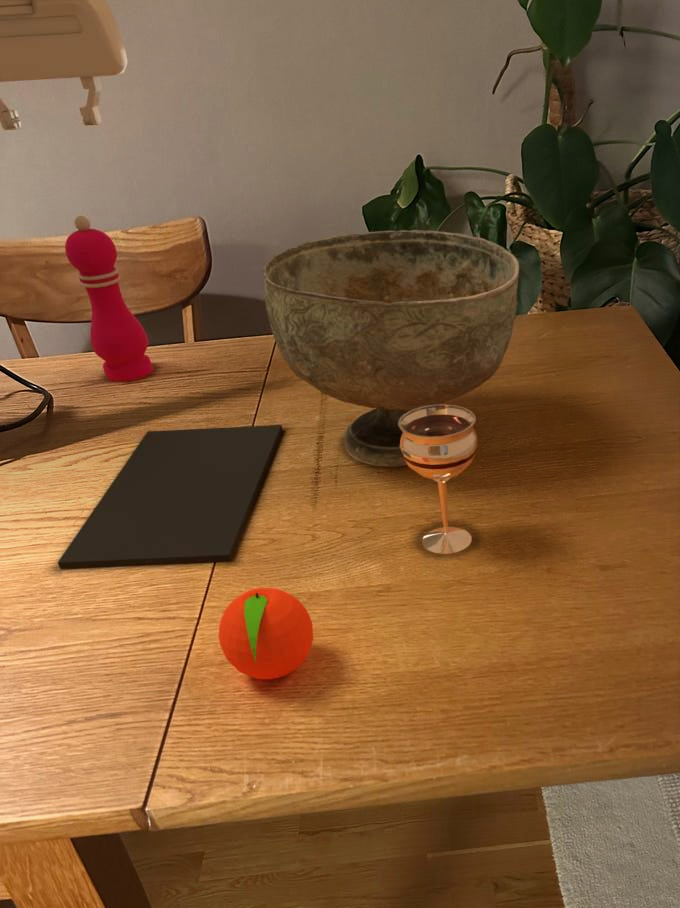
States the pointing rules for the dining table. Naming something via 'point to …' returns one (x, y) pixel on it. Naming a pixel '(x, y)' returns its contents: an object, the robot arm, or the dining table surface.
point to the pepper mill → (108, 305)
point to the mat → (177, 499)
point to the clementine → (266, 633)
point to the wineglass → (440, 460)
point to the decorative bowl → (392, 323)
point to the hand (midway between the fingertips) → (53, 127)
